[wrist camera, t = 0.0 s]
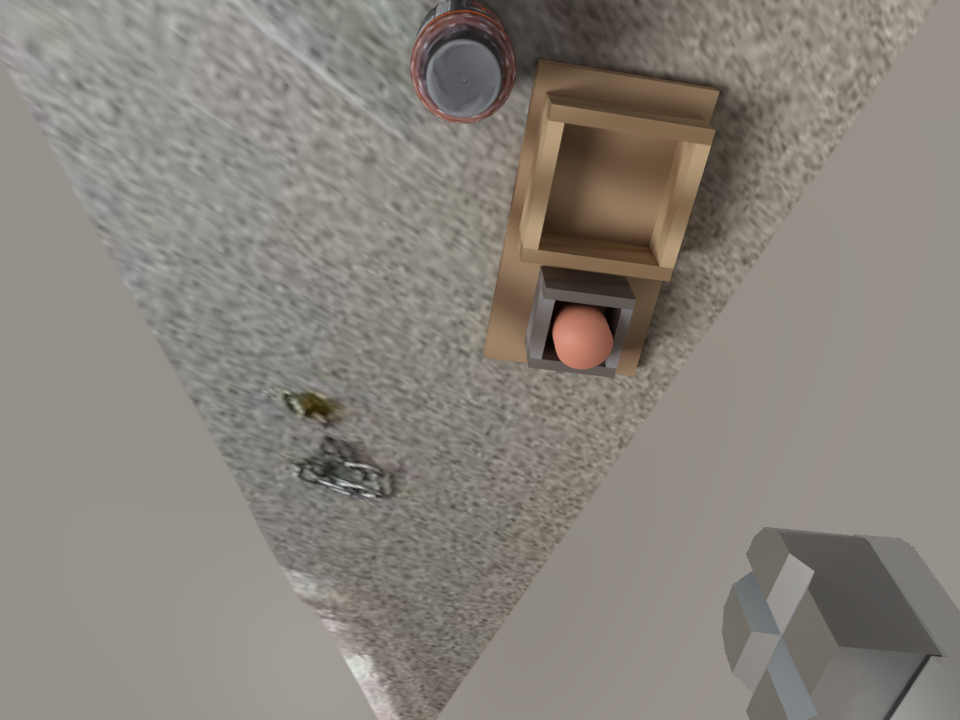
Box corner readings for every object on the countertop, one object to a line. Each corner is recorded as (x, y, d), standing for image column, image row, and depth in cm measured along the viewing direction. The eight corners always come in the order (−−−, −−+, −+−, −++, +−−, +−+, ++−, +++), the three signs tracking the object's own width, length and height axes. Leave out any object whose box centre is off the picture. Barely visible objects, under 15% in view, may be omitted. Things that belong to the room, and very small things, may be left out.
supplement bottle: (527, 41, 51) (546, 75, 41) (467, 112, 53) (471, 161, 43) (456, -27, 49) (458, -8, 39) (396, 50, 51) (384, 87, 41)
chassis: (538, 58, 52) (546, 73, 47) (714, 87, 53) (737, 104, 49) (483, 349, 62) (486, 383, 58) (631, 368, 64) (644, 402, 59)
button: (556, 294, 57) (562, 315, 54) (610, 301, 57) (619, 323, 54) (545, 342, 59) (550, 365, 56) (597, 349, 59) (605, 372, 56)
